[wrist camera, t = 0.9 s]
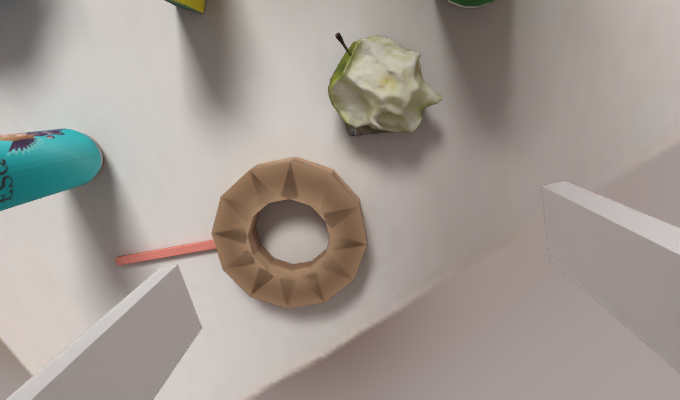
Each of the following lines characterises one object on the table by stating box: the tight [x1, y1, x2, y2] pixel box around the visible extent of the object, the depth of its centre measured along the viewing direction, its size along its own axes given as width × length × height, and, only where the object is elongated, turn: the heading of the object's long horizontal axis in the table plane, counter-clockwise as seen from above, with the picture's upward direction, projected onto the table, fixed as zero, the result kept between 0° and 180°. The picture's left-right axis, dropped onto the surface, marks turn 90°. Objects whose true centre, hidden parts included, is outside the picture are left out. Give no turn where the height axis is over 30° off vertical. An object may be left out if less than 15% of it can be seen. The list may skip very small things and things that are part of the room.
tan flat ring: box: [212, 157, 367, 308], centre depth 39 cm, size 15×15×3 cm
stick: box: [115, 240, 216, 266], centre depth 41 cm, size 1×13×1 cm, turn 102°
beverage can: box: [0, 129, 103, 211], centre depth 32 cm, size 6×6×15 cm
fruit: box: [328, 33, 442, 136], centre depth 33 cm, size 9×9×8 cm
